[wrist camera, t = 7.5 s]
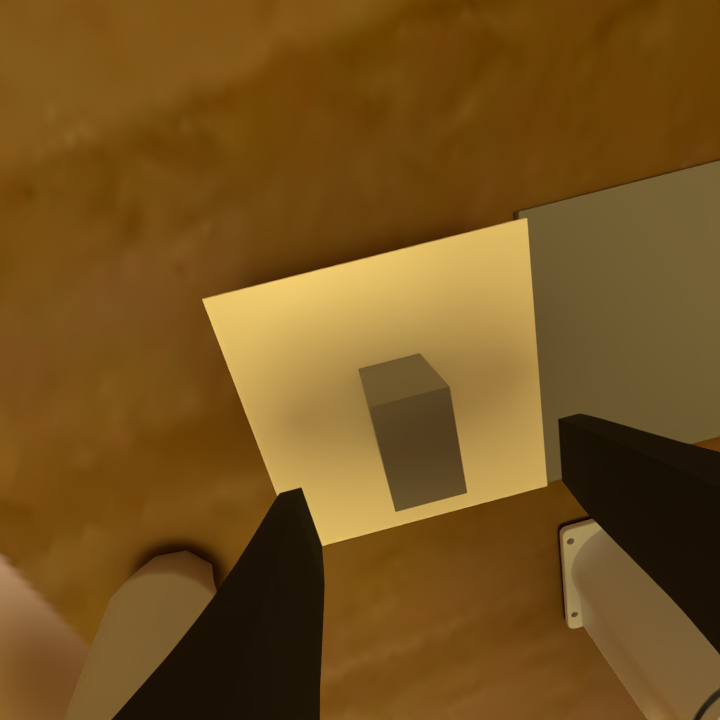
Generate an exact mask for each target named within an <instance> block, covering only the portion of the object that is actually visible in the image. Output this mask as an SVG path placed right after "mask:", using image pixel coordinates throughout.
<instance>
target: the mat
mask: <svg viewBox="0 0 720 720" xmlns="http://www.w3.org/2000/svg"><path fill="white" fill-rule="evenodd" d="M514 218H515V220H517V219H523V218H527V223H528V236H529V250H530V263H531V276H532V290H533V303H534V316H535V329H536V343H537V356H538V369H539V383H540V396H541V409H542V423H543V436H544V449H545V463H546V476H547V483H548V482H552V481H556V480H559V479H562V473H561V458H560V442H559V427H558V419H560V418H564V417H567V416H571V415H575V414H579V413H581V414H585V415H590V416H594V417H597V418H601V419H605V420H608V421H612V422H615V423H619V424H622V425H625V426H629V427H632V428H635V429H639V430H642V431H646V432H649V433H652V434H656V435H659V436H663V437H666V438H670V439H673V440H677V441H680V442H684V443H687V444H693V443H696V442H700V441H704V440H707V439H711V438H715V437H719V436H720V160H719V161H715V162H711V163H707V164H703V165H699V166H695V167H691V168H687V169H683V170H680V171H676V172H672V173H668V174H664V175H660V176H656V177H652V178H648V179H644V180H640V181H636V182H632V183H629V184H625V185H621V186H617V187H613V188H609V189H605V190H601V191H597V192H593V193H589V194H585V195H581V196H578V197H574V198H570V199H566V200H562V201H558V202H554V203H550V204H546V205H542V206H538V207H534V208H530V209H527V210H523V211H519V212H515V213H514Z"/></svg>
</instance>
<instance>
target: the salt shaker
mask: <svg viewBox="0 0 720 720" xmlns="http://www.w3.org/2000/svg"><path fill="white" fill-rule="evenodd" d="M216 592H217V591H216V587H215V583H214V579H213V570H212V564H210V563H209V562H207V561H205V560H203V559H201V558H200V557H198V556H196V555H194V554H192V553H191V552H189V551H187V550H185V551H180V552H175V553H170V554H164V555H159V556H156V557H154V558H153V559H152V560H150V561H149V562H148V563H147V564H145V565H144V566H143V567H142V568H140V569H139V570H138V571H137V572H135V573H134V574H133V575H131V576H130V577H129V578H128V579H127V580H126V582H125V583H124V584H123V585H122V586H121V587H120V588H119V589H118V590H117V592H116V593H115V594H114V595H113V597H112V598H111V599H110V600H109V603H108V606H107V608H106V611H105V613H104V616H103V619H102V621H101V624H100V627H99V629H98V632H97V634H96V637H95V640H94V642H93V645H92V647H91V650H90V653H89V656H88V658H87V661H86V663H85V666H84V669H83V671H82V674H81V676H80V679H79V682H78V684H77V687H76V689H75V692H74V695H73V697H72V700H71V702H70V705H69V708H68V710H67V713H66V715H65V718H64V720H111V719H112V718H113V717H114V716H115V715H116V714H117V713H118V712H119V711H120V709H121V708H122V707H123V706H124V705H125V704H126V703H127V701H128V700H129V699H130V698H131V697H132V696H133V695H134V694H135V692H136V691H137V690H138V689H139V688H140V687H141V686H142V684H143V683H144V682H145V681H146V680H147V679H148V678H149V676H150V675H151V674H152V673H153V672H154V671H155V670H156V669H157V667H158V666H159V665H160V664H161V663H162V662H163V661H164V659H165V658H166V657H167V656H168V655H169V653H170V652H171V651H172V650H173V649H174V647H175V646H176V645H177V644H178V642H179V641H180V640H181V639H182V637H183V636H184V635H185V634H186V632H187V631H188V630H189V629H190V627H191V626H192V625H193V624H194V622H195V621H196V620H197V618H198V617H199V616H200V614H201V613H202V612H203V610H204V609H205V608H206V606H207V605H208V604H209V602H210V601H211V600H212V598H213V597H214V595H215V594H216Z"/></svg>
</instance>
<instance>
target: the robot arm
mask: <svg viewBox="0 0 720 720" xmlns="http://www.w3.org/2000/svg"><path fill="white" fill-rule="evenodd" d="M558 427H559V442H560V458H561V473H562V481H563V482H564V484H565V485H566V486H567V488H568V489H569V490H570V492H571V493H572V494H573V496H574V497H575V498H576V500H577V501H578V502H579V503H580V505H581V506H582V507H583V508H584V510H585V511H586V512H587V513H588V514H589V515H590V516H591V518H592V519H589V520H586V521H582V522H578V523H575V524H571V525H567V526H564V527H563V528H562V529H561V530H560V547H561V561H562V576H563V590H564V604H565V619H566V623H567V625H568V626H569V627H570V628H578V627H582V626H583V627H584V628H585V629H586V631H587V632H588V634H589V635H590V637H591V638H592V640H593V641H594V643H595V644H596V646H597V647H598V649H599V650H600V651H601V653H602V654H603V656H604V657H605V659H606V660H607V662H608V663H609V665H610V666H611V668H612V669H613V670H614V672H615V673H616V675H617V676H618V678H619V679H620V681H621V682H622V684H623V685H624V687H625V688H626V689H627V691H628V692H629V694H630V695H631V697H632V698H633V700H634V701H635V703H636V704H637V706H638V707H639V709H640V710H641V711H642V713H643V714H644V716H645V717H646V719H647V720H720V452H717V451H713V450H709V449H706V448H702V447H698V446H695V445H691V444H687V443H684V442H680V441H677V440H673V439H670V438H666V437H663V436H659V435H656V434H652V433H649V432H646V431H642V430H639V429H635V428H632V427H629V426H625V425H622V424H619V423H615V422H612V421H608V420H605V419H601V418H597V417H594V416H590V415H585V414H581V413H579V414H575V415H571V416H567V417H564V418H560V419H558ZM324 585H325V584H324V566H323V553H322V544H321V541H320V538H319V535H318V532H317V530H316V527H315V524H314V521H313V518H312V516H311V513H310V510H309V507H308V504H307V501H306V499H305V496H304V493H303V490H302V487H300V488H297V489H293V490H289V491H285V492H282V493H279V495H278V496H277V498H276V500H275V501H274V503H273V504H272V506H271V508H270V509H269V511H268V513H267V514H266V516H265V518H264V519H263V521H262V523H261V524H260V526H259V528H258V529H257V531H256V533H255V534H254V536H253V538H252V539H251V541H250V542H249V544H248V546H247V547H246V549H245V550H244V552H243V554H242V555H241V557H240V558H239V560H238V562H237V563H236V565H235V566H234V568H233V569H232V570H231V572H230V573H229V575H228V576H227V578H226V579H225V581H224V582H223V584H222V585H221V587H220V588H219V589H218V591H217V592H216V594H215V595H214V597H213V598H212V600H211V601H210V602H209V604H208V605H207V606H206V608H205V609H204V610H203V612H202V613H201V614H200V616H199V617H198V618H197V620H196V621H195V622H194V624H193V625H192V626H191V627H190V629H189V630H188V631H187V632H186V634H185V635H184V636H183V637H182V639H181V640H180V641H179V642H178V644H177V645H176V646H175V647H174V649H173V650H172V651H171V652H170V653H169V655H168V656H167V657H166V658H165V659H164V661H163V662H162V663H161V664H160V665H159V666H158V667H157V669H156V670H155V671H154V672H153V673H152V674H151V675H150V676H149V678H148V679H147V680H146V681H145V682H144V683H143V684H142V686H141V687H140V688H139V689H138V690H137V691H136V692H135V694H134V695H133V696H132V697H131V698H130V699H129V700H128V701H127V703H126V704H125V705H124V706H123V707H122V708H121V709H120V711H119V712H118V713H117V714H116V715H115V716H114V717H113V718H112V719H111V720H320V677H321V655H322V633H323V611H324Z"/></svg>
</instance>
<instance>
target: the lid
mask: <svg viewBox="0 0 720 720" xmlns="http://www.w3.org/2000/svg"><path fill="white" fill-rule="evenodd" d="M202 300H203V303H204V305H205V308H206V311H207V313H208V316H209V318H210V321H211V324H212V326H213V329H214V332H215V334H216V337H217V339H218V342H219V345H220V347H221V350H222V352H223V355H224V358H225V360H226V363H227V366H228V368H229V371H230V373H231V376H232V379H233V381H234V384H235V387H236V389H237V392H238V394H239V397H240V400H241V402H242V405H243V407H244V410H245V413H246V415H247V418H248V421H249V423H250V426H251V428H252V431H253V434H254V436H255V439H256V441H257V444H258V447H259V449H260V452H261V455H262V457H263V460H264V462H265V465H266V468H267V470H268V473H269V476H270V478H271V481H272V483H273V486H274V489H275V491H276V494H277V496H278V495H279V493H282V492H285V491H289V490H293V489H297V488H300V487H302V490H303V493H304V496H305V499H306V501H307V504H308V507H309V510H310V513H311V516H312V518H313V521H314V524H315V527H316V530H317V532H318V535H319V538H320V541H321V544H322V546H324V545H328V544H331V543H335V542H339V541H343V540H346V539H350V538H354V537H358V536H361V535H365V534H369V533H373V532H376V531H380V530H384V529H388V528H391V527H395V526H399V525H403V524H406V523H410V522H414V521H418V520H421V519H425V518H429V517H433V516H436V515H440V514H444V513H448V512H451V511H455V510H459V509H463V508H466V507H470V506H474V505H478V504H481V503H485V502H489V501H493V500H496V499H500V498H504V497H508V496H511V495H515V494H519V493H523V492H526V491H530V490H534V489H538V488H541V487H545V486H547V476H546V463H545V449H544V436H543V423H542V409H541V396H540V383H539V369H538V356H537V343H536V329H535V316H534V303H533V290H532V276H531V263H530V250H529V236H528V223H527V218H523V219H517V220H513V221H509V222H505V223H501V224H497V225H493V226H489V227H485V228H481V229H477V230H473V231H469V232H465V233H461V234H457V235H453V236H449V237H445V238H441V239H437V240H433V241H429V242H425V243H421V244H417V245H413V246H409V247H405V248H401V249H397V250H393V251H389V252H385V253H381V254H377V255H374V256H370V257H366V258H362V259H358V260H354V261H350V262H346V263H342V264H338V265H334V266H330V267H326V268H322V269H318V270H314V271H310V272H306V273H302V274H298V275H294V276H290V277H286V278H282V279H278V280H274V281H270V282H266V283H262V284H258V285H254V286H250V287H246V288H242V289H238V290H234V291H230V292H226V293H222V294H218V295H214V296H210V297H207V298H204V299H202Z"/></svg>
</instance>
